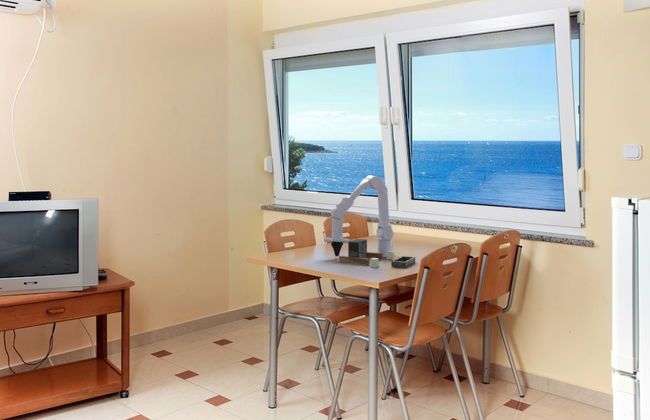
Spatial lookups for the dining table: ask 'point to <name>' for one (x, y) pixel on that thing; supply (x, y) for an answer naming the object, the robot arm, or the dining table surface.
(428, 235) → the dining table surface
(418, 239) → the dining table surface
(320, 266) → the dining table surface
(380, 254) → the walnut tunnel rails
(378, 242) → the robot arm
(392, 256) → the sage goal posts
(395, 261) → the black pit tray
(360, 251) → the small box
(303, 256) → the dining table surface
